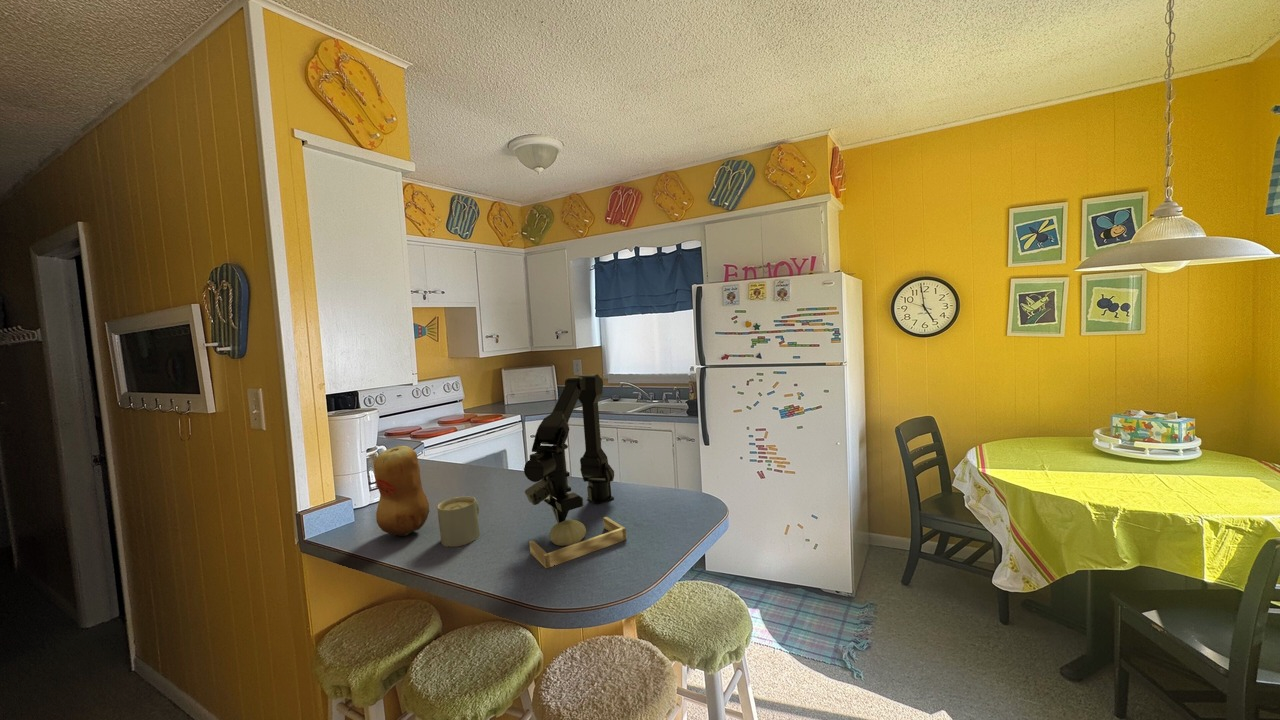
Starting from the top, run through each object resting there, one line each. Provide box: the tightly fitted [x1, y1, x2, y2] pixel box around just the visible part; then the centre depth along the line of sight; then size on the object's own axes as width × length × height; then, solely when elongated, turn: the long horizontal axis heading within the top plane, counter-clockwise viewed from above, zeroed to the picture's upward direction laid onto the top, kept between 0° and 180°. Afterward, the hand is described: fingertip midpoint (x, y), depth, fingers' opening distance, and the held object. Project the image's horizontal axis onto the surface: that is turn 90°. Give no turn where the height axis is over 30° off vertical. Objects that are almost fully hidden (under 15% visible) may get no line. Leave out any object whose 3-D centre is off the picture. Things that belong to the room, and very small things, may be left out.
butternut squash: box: [373, 445, 430, 537], centre depth 143 cm, size 14×13×25 cm
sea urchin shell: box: [549, 519, 587, 547], centre depth 132 cm, size 9×8×8 cm
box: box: [529, 516, 627, 569], centre depth 127 cm, size 22×10×3 cm, turn 123°
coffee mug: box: [436, 495, 481, 548], centre depth 139 cm, size 13×10×10 cm
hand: (560, 525), depth 136 cm, fingers closed
